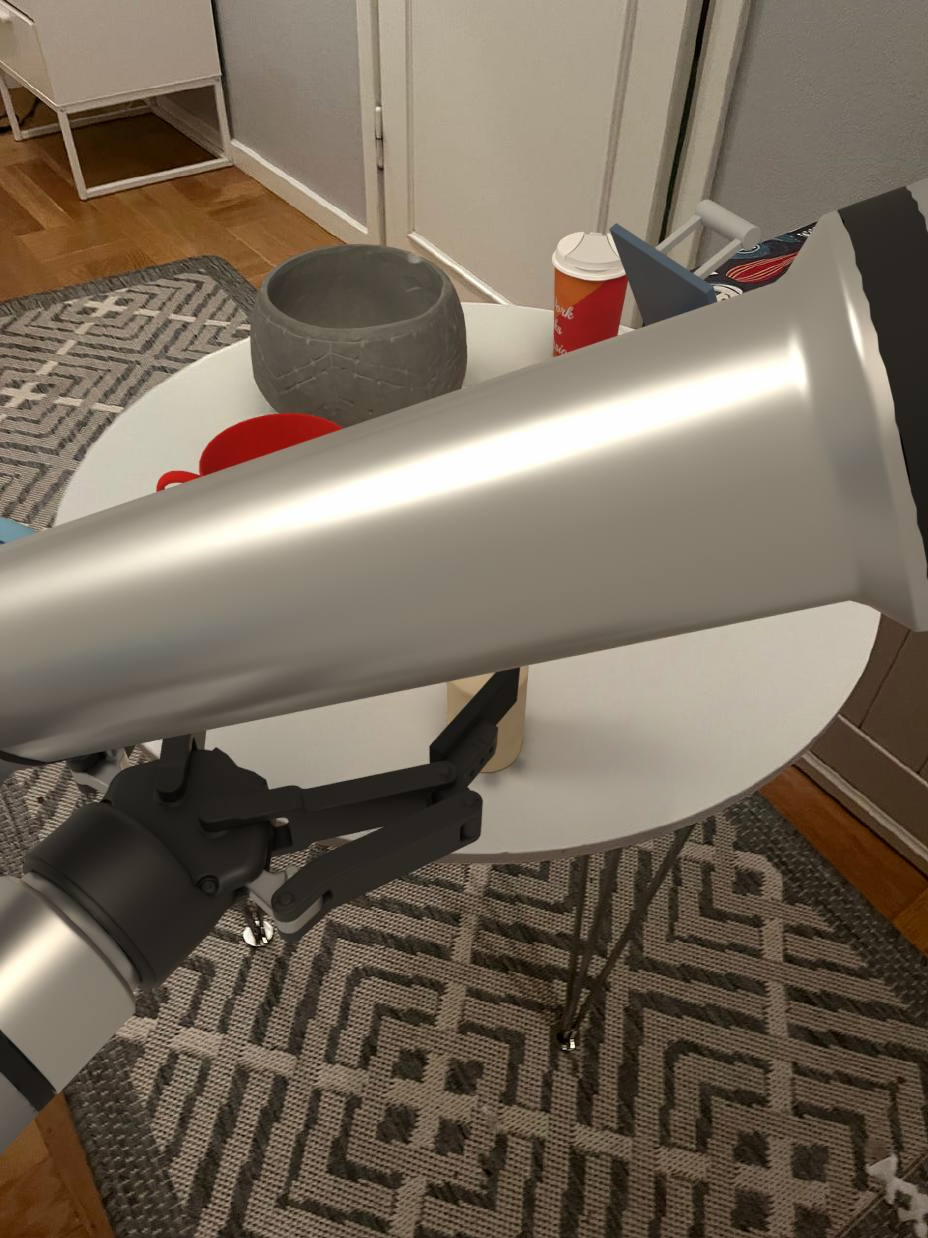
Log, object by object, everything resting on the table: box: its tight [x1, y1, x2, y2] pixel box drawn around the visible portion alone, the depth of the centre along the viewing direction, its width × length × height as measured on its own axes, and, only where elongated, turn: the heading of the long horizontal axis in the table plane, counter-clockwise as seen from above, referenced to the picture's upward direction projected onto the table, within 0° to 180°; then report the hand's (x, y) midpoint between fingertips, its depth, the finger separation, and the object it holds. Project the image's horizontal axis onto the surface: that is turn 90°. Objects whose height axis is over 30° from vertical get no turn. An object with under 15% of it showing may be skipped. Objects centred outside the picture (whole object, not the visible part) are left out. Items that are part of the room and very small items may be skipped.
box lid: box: [608, 198, 762, 327], centre depth 80 cm, size 14×13×8 cm
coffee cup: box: [551, 231, 629, 358], centre depth 99 cm, size 8×8×15 cm
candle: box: [446, 665, 530, 773], centre depth 66 cm, size 6×6×10 cm
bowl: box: [249, 243, 468, 429], centre depth 93 cm, size 21×21×15 cm
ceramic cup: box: [155, 413, 343, 492], centre depth 81 cm, size 13×17×10 cm
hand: (404, 622), depth 50 cm, fingers open, 13 cm apart
